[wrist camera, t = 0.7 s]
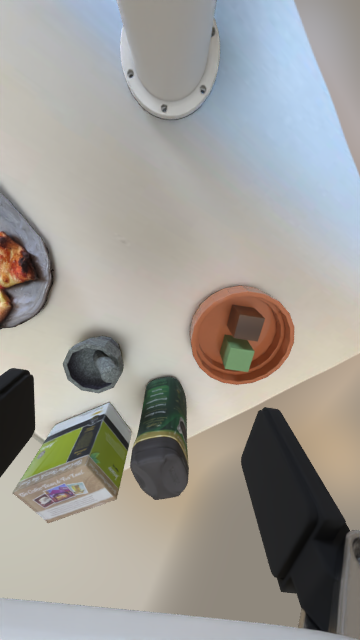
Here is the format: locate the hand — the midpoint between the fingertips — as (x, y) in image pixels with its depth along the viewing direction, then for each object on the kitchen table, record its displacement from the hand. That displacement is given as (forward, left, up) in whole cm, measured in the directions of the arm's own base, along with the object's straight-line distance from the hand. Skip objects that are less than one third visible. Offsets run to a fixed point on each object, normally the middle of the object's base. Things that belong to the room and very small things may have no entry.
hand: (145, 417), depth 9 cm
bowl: (+8, +13, -32) cm, 36 cm away
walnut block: (+5, +13, -31) cm, 35 cm away
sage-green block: (+11, +13, -31) cm, 36 cm away
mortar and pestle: (+16, -11, -32) cm, 37 cm away
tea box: (+37, -13, -32) cm, 50 cm away
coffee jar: (+25, +2, -32) cm, 41 cm away
